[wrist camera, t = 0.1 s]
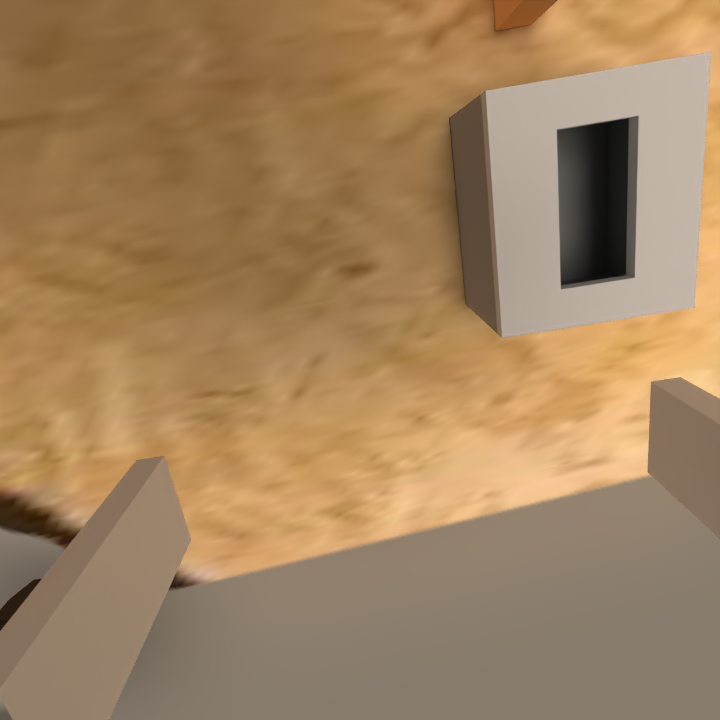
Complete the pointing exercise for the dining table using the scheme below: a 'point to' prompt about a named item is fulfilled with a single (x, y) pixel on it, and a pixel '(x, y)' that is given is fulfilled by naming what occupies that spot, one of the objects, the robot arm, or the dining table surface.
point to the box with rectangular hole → (582, 195)
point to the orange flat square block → (518, 12)
